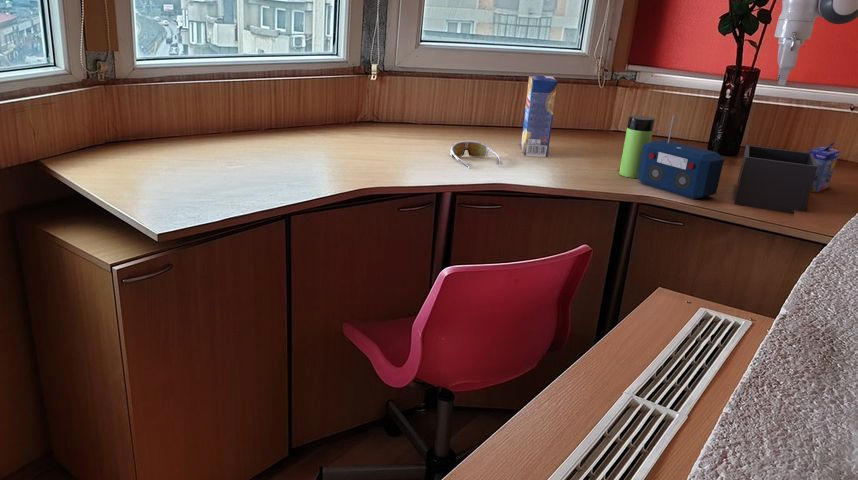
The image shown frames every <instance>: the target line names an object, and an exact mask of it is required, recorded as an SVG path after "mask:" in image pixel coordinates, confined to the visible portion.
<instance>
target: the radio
mask: <svg viewBox="0 0 858 480" xmlns="http://www.w3.org/2000/svg"><path fill="white" fill-rule="evenodd" d="M674 119H675V115H672V118H671V123H670V128H669V134H668V138H667V140H666V139H661V140H655V141H651V142H650V143H647V144H645V145H643V150H642V155H641V161H640V166H639V172H638V177H637V178H636V179H638V180H639V181H640V183H642V184H643V185H645V186H648V187H652V188H654V189H658V190H662V191H665V192H668V193H671V194H675V195H678V196H681V197H685V198H688V199H691V200H697V199H701V198H706V197H710V196H714V195H717V191H718V188H719V183H720V179H721V176H722V175H721V174H722V169H723V165H724V163H725V159H724V157H723V156H721V154H719V153H718V152H717V151H713V150H709V149H704V148H700V147H696V146H693V145H692V146H691V145H688V144H683V143H679V142H675V141H671V140H670V139H671V136H672V135H671V134H672V129H673V125H674Z"/></svg>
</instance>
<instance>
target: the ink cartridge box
mask: <svg viewBox="0 0 858 480" xmlns="http://www.w3.org/2000/svg"><path fill="white" fill-rule="evenodd" d="M835 143H836V142H835V141H834V142H831V143H829V144H828V145H827V146H826V147H825V146H818V147H815V148H811V149H810V150H809V151H808V153H813V156H814V159H815V162H816V164H817V170H816V174H815V178H814V181H813V185H812V188H811V192H812V193H819V192H821V191H824V190H826V189H828V188H829V185H830V182H831V179H832V176H833V173H834V171H835V168H836V164H837V161H838V158H839V155H840V152H841V151H840V150H839V149H835V148H832V147H833V146H834V145H835ZM811 192H810V193H811Z"/></svg>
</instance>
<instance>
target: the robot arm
mask: <svg viewBox="0 0 858 480" xmlns="http://www.w3.org/2000/svg"><path fill="white" fill-rule="evenodd" d="M781 5H782V7H781V11H780V14H779V16H778V19H777V22H776V27H775V32H774V38H778V40H777V44H778V49H777V59H776V61H777V65H778V74H777V79H776V80H777V81H776V82H777V84H778V85H779V86H786V84H787V81H788V77H789V76H790V71H791V70H795V67H796V65H797V64H796V63H797V60H798V57H799V51H800V47H801V46H804V44H805V40H811V38H812V33H813V29H814V25H815V21H816V19H817V18H823V19H824V20H825V21H826V22H827V23H830V24H834V25H844V24H848V23H851V22H853V21H854V20H856V19H857V18H858V0H782V2H781Z"/></svg>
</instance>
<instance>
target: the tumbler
mask: <svg viewBox="0 0 858 480" xmlns="http://www.w3.org/2000/svg"><path fill="white" fill-rule="evenodd" d="M655 122H656V118H655V117H653V116H649V115H648V116H647V115H639V114H632V115H629V116H628V121H627V126H626V132H625V137H624V143H623V150H622V155H621V161H620V167H619V173H618V174H619V175H620V176H622V177H625V178H628V179H629V178H630V179H638V178H637V177H638V172H639V166H640V161H641V155H642V150H643V145H645V144H647V143H650V142H652V140H653V139H652V138H653V133H654V128H655Z"/></svg>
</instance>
